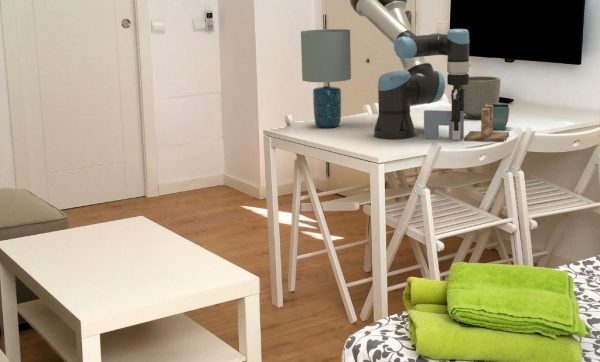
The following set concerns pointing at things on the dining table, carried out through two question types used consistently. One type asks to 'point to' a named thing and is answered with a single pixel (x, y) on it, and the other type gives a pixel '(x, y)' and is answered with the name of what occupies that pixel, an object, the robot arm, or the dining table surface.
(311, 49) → the lamp
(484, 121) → the jig
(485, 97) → the planter
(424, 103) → the robot arm
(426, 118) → the slotted board
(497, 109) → the flower pot
